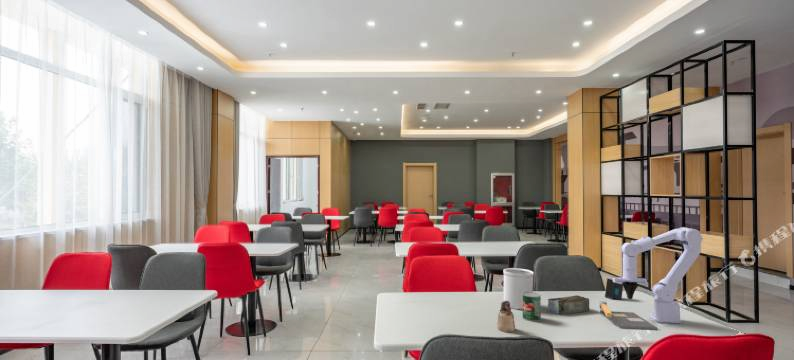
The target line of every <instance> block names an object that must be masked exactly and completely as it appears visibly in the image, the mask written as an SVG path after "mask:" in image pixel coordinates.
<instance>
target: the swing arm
mask: <svg viewBox="0 0 794 360" xmlns="http://www.w3.org/2000/svg"><path fill="white" fill-rule="evenodd" d="M607 304H608V303H607V302H606V301H599V308H601V309H603V311H604V313H605V314H606V316H607V317H612V313H611V311H612V310H610V308H609V307H608V305H607Z"/></svg>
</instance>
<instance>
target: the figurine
mask: <svg viewBox="0 0 794 360" xmlns="http://www.w3.org/2000/svg"><path fill="white" fill-rule="evenodd" d="M497 317H498V318H497V327H496V328H497V330H498V331H501V332H505V333H512V332H515V330H516V322H515V315H514V313H513V311H512V308H511V307H510V302H509V301H504V300H503V301H502V302H501V303H500V310H499V313H498V316H497Z"/></svg>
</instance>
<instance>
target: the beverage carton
mask: <svg viewBox="0 0 794 360" xmlns="http://www.w3.org/2000/svg"><path fill="white" fill-rule="evenodd" d="M547 306H548V307H547V308H548V309H547V310H548V311H549V312H551V313H554V314H556V315H558V316H560V315H568V314H569V315H570V314H576V313H582V312H583V313H584V312H590V299H589V297H584V296H581V295H572V296H564V297H555V298H552V297H551V298H547Z"/></svg>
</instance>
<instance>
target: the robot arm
mask: <svg viewBox="0 0 794 360" xmlns="http://www.w3.org/2000/svg"><path fill="white" fill-rule="evenodd" d="M673 240H676V241H680V242H681V244H682V246H683V248H684V251H683V252H682V253H681V254H680V256H679V258H678V259H677V260H676V262H675V263H674V265H673V266H672V267H671V269H670V270H669V271H668V273H667V274H666V276H665V277H664V278H662V279H660V280H659V282H657V283H655V284H654V285H653V286H652V287H651V291H652V294H653V295H654V298H653V311H654V312H653V315H649V318H652V319H653V320H655V321H656V322H658V323H666V324H667V323H669V324H681V323H682V322H681V308H680V307H681V306H680V303H678V301H676V300H675V298H676V294H677V292H678V291H679V289H678V285H679V283H680V282H681V281H682V279H683V277H685V275H686V273H687V272H688V271H689V269H690V268H691V267H692V266H693V264H694V263H695V262H696V260H697V258H699V256H700V254H701V252H702V242H703V236H702V234H701V232H700V231H699V230H698V229H696V228H690V227H689V228H688V227H686V226H683V227H682V226H681V227H679V228H674V229H672V230H669V231H666V232H664V233H661V234H659V235H655V236H654V237H650V236H641V238H639V239H636V240H633V239H632V240H631V241H630V242H625V243H623V244H621V245H622V246H621V247H620V251H621V252H622V277H612V280H613V282H614V283H621V284H622V285H623V290H625V294H626V298H627V299H628V300H633V298H634V294H635V292H636V290H637V288H638V287H639V284H648V279H647V278H641V277H638V260H637V259H638V255H639V254H641V253H643V252H646V251H650V250H653V249H654V248H655V246H656V245H659V244H662V243H666V242H669V241H673Z"/></svg>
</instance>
